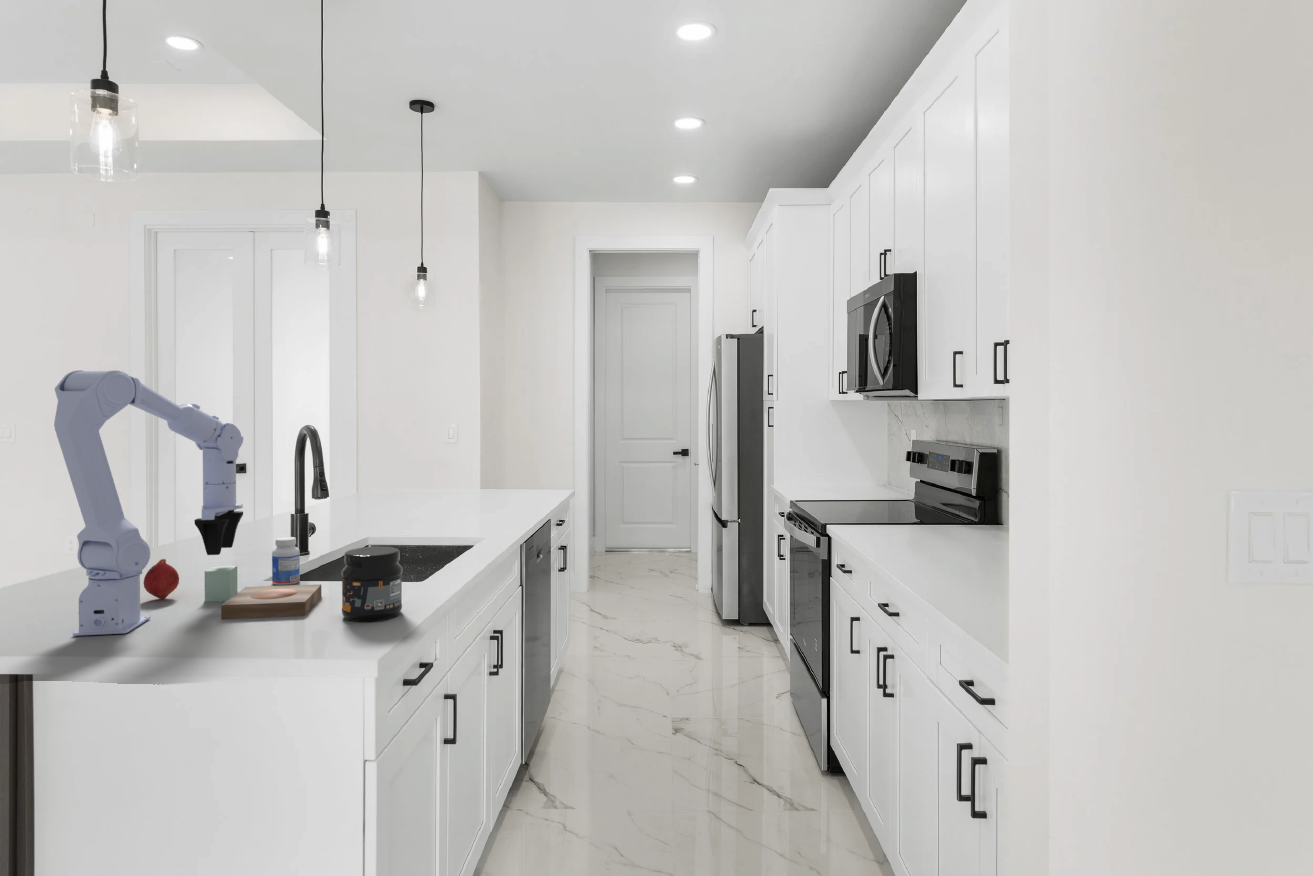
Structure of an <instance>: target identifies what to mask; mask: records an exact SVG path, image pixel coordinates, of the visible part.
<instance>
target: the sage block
mask: <svg viewBox="0 0 1313 876" xmlns="http://www.w3.org/2000/svg"><path fill="white" fill-rule="evenodd" d="M237 593H238V565H225V566H224V565H223V566H222V565H220V566H212V567H209V568H208V569H206V570H204V602H223V601H224V602H226V601H227V600H229V599H230V598H231V597H233V596H234V595H235V594H237Z"/></svg>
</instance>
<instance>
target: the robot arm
mask: <svg viewBox="0 0 1313 876" xmlns="http://www.w3.org/2000/svg"><path fill="white" fill-rule="evenodd" d="M54 392H55V395H56V399H57V405H56V410H55V415H54V416H55V417H54V422H53V423H54V424H53V426H54V431H55V434H56V437H57V439H58V444H59V447H60V450H61V452H62V456H63V459H64V462H65V465H66V468H67V472H68V475H69V478H70V482H71V484H72V487H73V491H74V494H75V496H76V500H77V503H78V506H79V509H80V512H81V516H82V519H83V522H84V527H83V529H81V531H80V532H78V533H77V535H76V538H77V541H78V549H77V561H78V564H79V565H80V566H81V567H82V568H83V569H84V570H85V571H86V572H85V573H86V575H85V576H87V577H88V579H87V580H88V584H87V585H86V587H85V588H84V589H83V590H82V591H81V593H80V595H79V597H78V629H77V630H75V631H73V632H72V636H74V637H75V636H94V635H95V636H97V635H99V636H100V635H113V634H114V635H118V634H120V635H121V634H127V633H129V632H130V631H132V630H134V629H135V628H137V627H139V626H141V625H142V624H143V623H145V622H147V621H148V620H150V619H151V615H141V575H142V574H143V570H144V569H145V568H146V566H148V564H149V562H150V559H151V549H150V546H149V544H148V543H147V542H146V541H145V540H144V539H143V538H142V536H141V534H140V531H139V528H138V527H137V526H135V525H134V524H133V523H132V522H130V520H128V519H127V518H126V516H125V514H124V511H123V508H122V504H121V502H120V497H119V493H118V491H117V486H116V483H115V481H114V477H113V475H112V470H111V467H110V464H109V461H108V458H107V455H106V451H105V447H104V444H103V440H102V437H101V433H100V430H101V428H102V427H103V426H104V424H105V423H106V422H107V421H108V420H109V419H111V418H113V416H115V415H116V414H118V413H120V411H122V410H123V409H125V408H126V407H127V406H128V405H130V406H132V407H135V408H137V409H140V410H142V411H144V412H146V413H148V414H150V415H153V416H155V417H158V418H160V419H161V420H165V421H166V422H167V426H168V429H169V430H170V431H172V432H174V433H175V434H178V435H180V436H182V437H184V438H186V439H188V440H190V441H192V442H194V443H195V446H196V447H197V449H199V450H200V451H202V506H201V518H199V517H198V518H195V519H194V520H193V521H194V525H195V527H196V528H197V530H198V531H199V533H200V535H201V539H202V541H203V545H204V550H205V552H206V554H207V556H219V555H221V552H222V549H226V548H228V549H230V548H233V546H234V545H233V544H234V542H235V538H236V537H235V536H236V533H237V530H238V529H237V528H238V526H239V523H240V521H241V520H242V518H243V516H244V511H243V510H242V511H241V510H240V511H239V510H238V509H243V508H244V507H243V504H238V503H237V460H238V458H239V450H240V449H241V447H242V445H243V442H244V436H243V435H242V434H241V431H240V429H239V428H238V427H237V426H236V425H235V424H233V423H231V422H230V423H229V422H227V423H226V422H225V423H224V422H222V421H221V420H220V419H219V417H218V416H216V415H210V414H208V413H206V412H204V411H202V410H201V406H200V405H198V404H196V403H189V404H188V403H183V404H179V405H178V404H177V403H175V402H173V401H172V400H171V399H168V398H167V397H165V396H163V395H162V394H160V393H158V392H157V391H155V390H154V389H152V388H151V387H148V386H147V385H145V384H143V383H142V382H141V381H140V379H139V378H138V377H134V376H132V375H129V374H128V373H126V372H125V371H123V370H122V371H121V370H117V369H114V370H107V371H106V370H103V371H102V370H101V371H100V370H99V371H97V370H94V371H93V370H92V371H91V370H90V371H89V370H72V371H70V372H68V373H66V374H65V375H64V376H63V377H62V379H61V380H60V381H59V382H58V384H57V385H56V386H55V387H54ZM236 510H237V511H236Z"/></svg>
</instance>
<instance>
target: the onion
mask: <svg viewBox="0 0 1313 876" xmlns="http://www.w3.org/2000/svg"><path fill="white" fill-rule="evenodd" d="M179 581H180V575H179V573H178V570H176V569H175V568H174V567H173V566H172V565H170V564H169V563H167V559H166V558H161V559H160V560H158V562H157V563H155V564H154V565H153V566H151V567H150V568H149V569H148V570H147V572H146V574H145V576H144V578H143V588H144V589H145V590H146V592H147V593H149V594H150V595H152V596H153V597H156V598H157V599H159V600H164V599H166V598H167V597H168V596H169V595H170V594H172V593H173V592H175V590H176V589H177V588H178V585H179V583H180V582H179Z"/></svg>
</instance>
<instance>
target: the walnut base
mask: <svg viewBox="0 0 1313 876" xmlns="http://www.w3.org/2000/svg"><path fill="white" fill-rule="evenodd" d="M321 597H322V584H320V583H319V584H296V585H295V584H291V585H265V586H264V585H262V586H261V585H260V586H244V587H243V588H242V589H241V590H240V591H237V594H235V595H234V596H233V597H231V598H230V599H229V600H227V601H224V602H223V603H222V604H221V605H220V608H221V609H220V613H221V615H220V619H222V620H224V619H225V620H226V619H229V620H230V619H249V618H250V619H251V618H269V617H270V618H271V617H291V616H292V617H293V616H294V617H296V616H297V617H298V616H306V615H307V613H309V611H310V610H311V609H312V608H313V607H314V606H315V604H316V603H317V602H318V601H319V600H320V599H321Z"/></svg>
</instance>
